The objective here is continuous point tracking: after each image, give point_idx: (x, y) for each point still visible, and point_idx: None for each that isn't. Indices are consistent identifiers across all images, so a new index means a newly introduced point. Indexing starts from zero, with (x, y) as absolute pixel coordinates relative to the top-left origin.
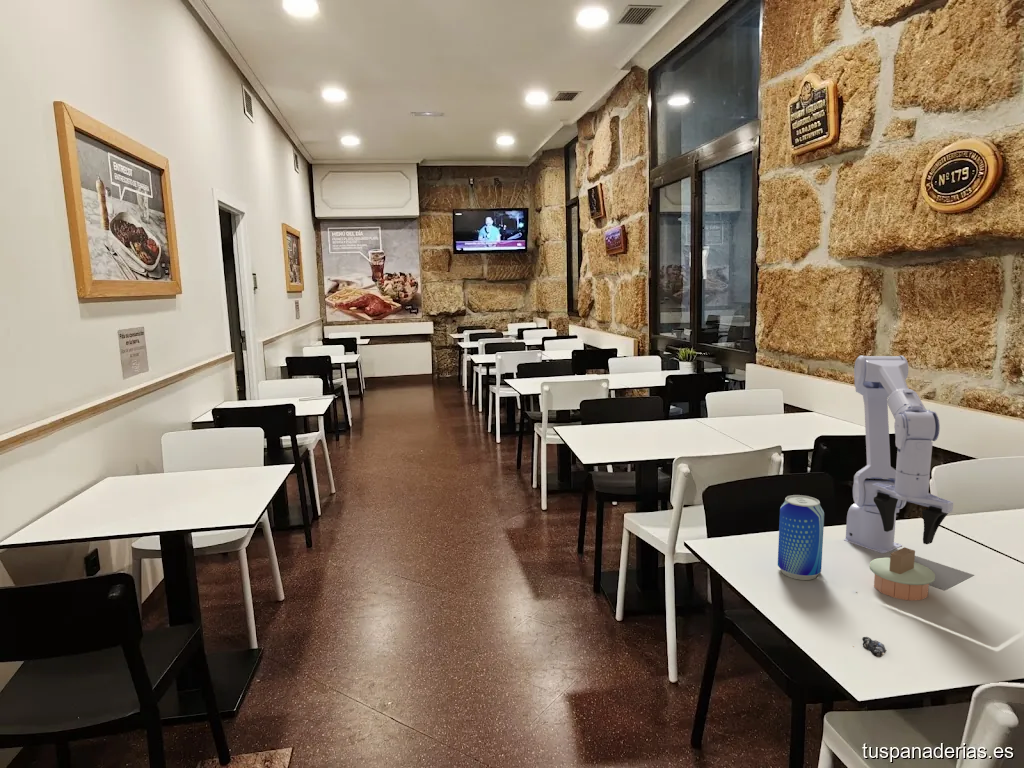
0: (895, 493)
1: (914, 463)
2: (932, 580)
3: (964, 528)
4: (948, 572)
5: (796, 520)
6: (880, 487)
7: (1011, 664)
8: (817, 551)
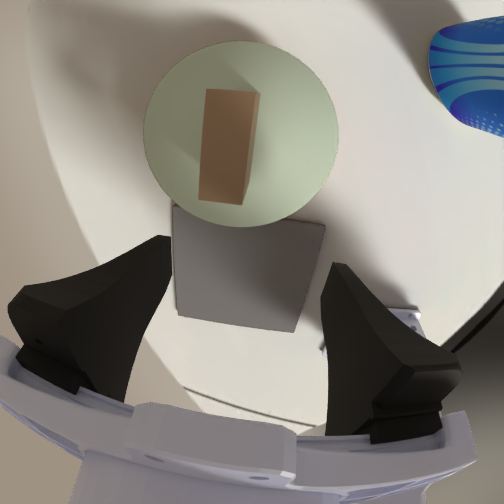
0: (315, 483)
1: None
2: (145, 136)
3: None
4: (211, 299)
5: None
6: (441, 468)
7: (28, 39)
8: (469, 42)
